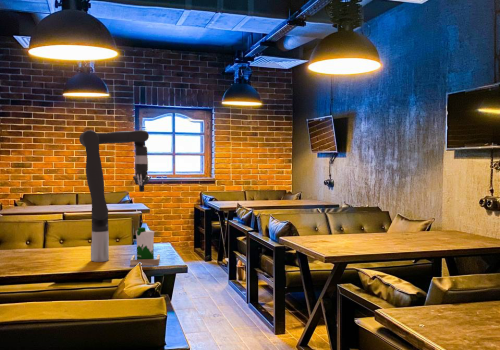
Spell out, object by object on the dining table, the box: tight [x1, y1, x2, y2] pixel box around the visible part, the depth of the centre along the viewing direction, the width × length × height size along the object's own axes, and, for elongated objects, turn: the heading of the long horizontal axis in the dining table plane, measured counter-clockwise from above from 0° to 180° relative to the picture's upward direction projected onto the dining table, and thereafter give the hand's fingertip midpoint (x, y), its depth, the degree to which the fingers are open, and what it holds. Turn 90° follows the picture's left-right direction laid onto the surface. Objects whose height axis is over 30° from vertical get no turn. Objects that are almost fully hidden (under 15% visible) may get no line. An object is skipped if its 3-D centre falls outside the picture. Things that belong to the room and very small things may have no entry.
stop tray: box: [129, 253, 161, 267], centre depth 279 cm, size 15×15×3 cm
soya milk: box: [135, 226, 155, 260], centre depth 279 cm, size 9×9×20 cm
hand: (141, 191), depth 299 cm, fingers closed
